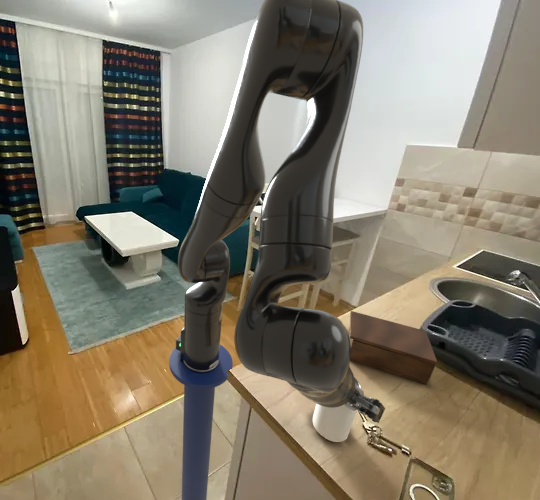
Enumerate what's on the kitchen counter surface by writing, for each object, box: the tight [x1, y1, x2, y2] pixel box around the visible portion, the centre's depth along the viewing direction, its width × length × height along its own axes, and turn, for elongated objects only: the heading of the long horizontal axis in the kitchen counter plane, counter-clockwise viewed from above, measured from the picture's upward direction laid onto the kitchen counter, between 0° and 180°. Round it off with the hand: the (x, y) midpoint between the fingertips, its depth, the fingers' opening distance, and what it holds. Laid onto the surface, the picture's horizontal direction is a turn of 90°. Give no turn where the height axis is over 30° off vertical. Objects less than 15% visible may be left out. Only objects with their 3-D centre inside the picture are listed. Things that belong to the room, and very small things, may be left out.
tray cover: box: [349, 310, 438, 365], centre depth 73 cm, size 17×13×1 cm
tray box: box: [348, 327, 437, 385], centre depth 75 cm, size 17×13×6 cm
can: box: [312, 376, 362, 443], centre depth 54 cm, size 6×6×12 cm
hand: (338, 390), depth 51 cm, fingers open, 8 cm apart
